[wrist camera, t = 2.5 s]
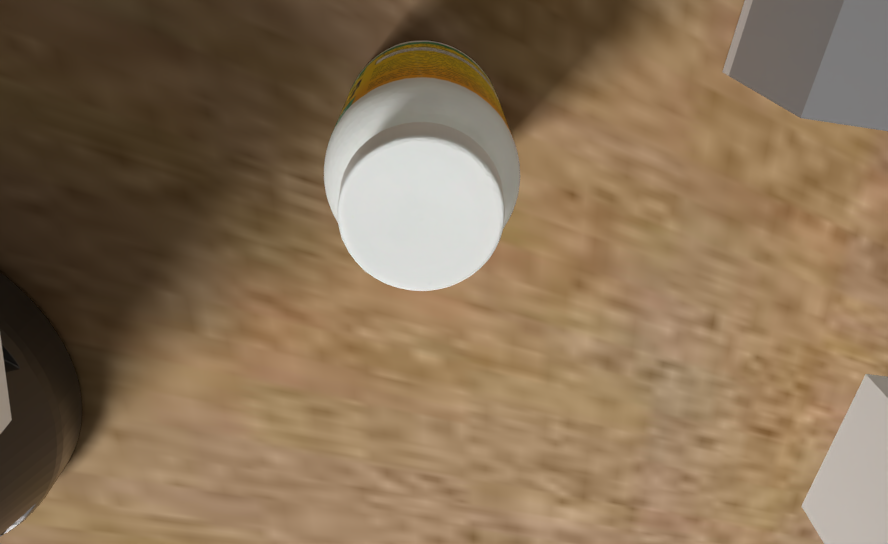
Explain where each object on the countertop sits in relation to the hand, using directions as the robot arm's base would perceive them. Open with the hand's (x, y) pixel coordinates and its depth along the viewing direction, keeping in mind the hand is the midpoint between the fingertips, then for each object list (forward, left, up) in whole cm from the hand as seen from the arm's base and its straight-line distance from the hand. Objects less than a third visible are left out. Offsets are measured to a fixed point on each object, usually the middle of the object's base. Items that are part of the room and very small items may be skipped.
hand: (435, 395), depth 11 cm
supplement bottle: (0, 0, -17) cm, 17 cm away
